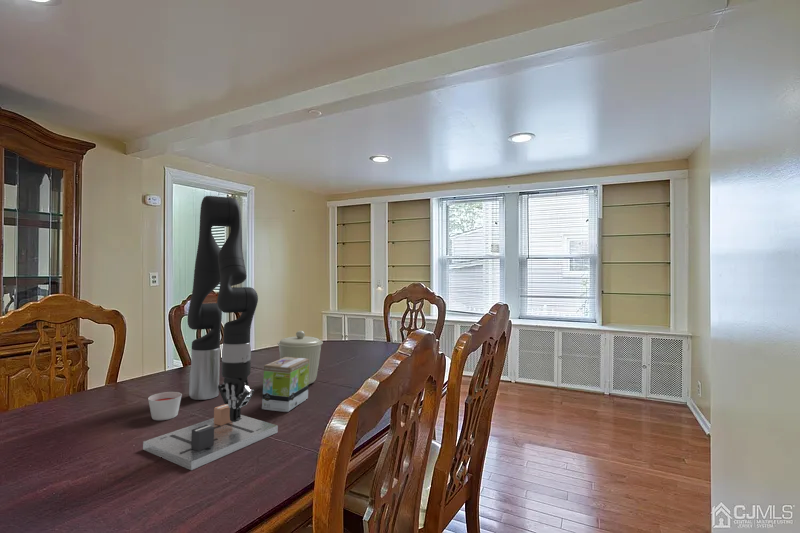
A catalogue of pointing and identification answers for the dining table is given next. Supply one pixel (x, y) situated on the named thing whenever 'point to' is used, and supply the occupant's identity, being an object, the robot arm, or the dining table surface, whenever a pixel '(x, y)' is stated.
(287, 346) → the canister
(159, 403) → the candle
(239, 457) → the dining table surface
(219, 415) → the fader terracotta
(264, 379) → the tea box
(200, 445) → the fader black
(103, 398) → the dining table surface
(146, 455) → the dining table surface
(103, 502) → the dining table surface
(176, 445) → the mixing board
